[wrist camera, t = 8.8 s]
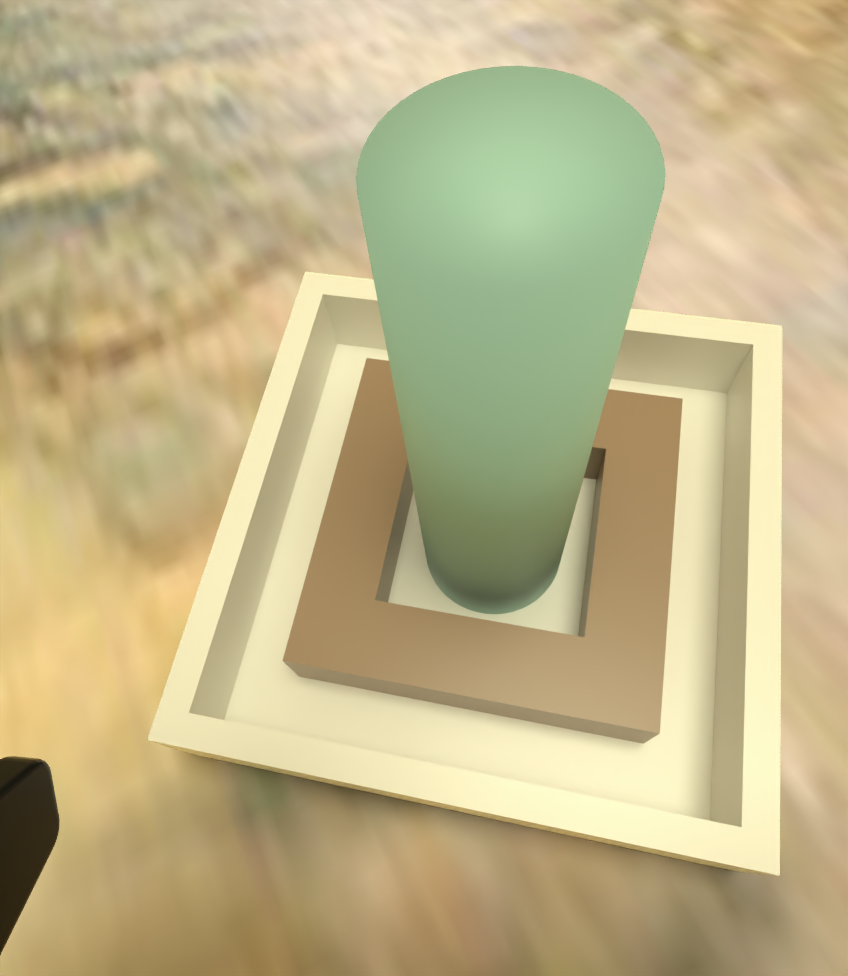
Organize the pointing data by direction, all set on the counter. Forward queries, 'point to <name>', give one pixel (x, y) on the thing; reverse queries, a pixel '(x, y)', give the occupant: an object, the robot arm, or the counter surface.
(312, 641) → the tray box
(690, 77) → the counter surface
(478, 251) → the pale green peg
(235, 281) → the counter surface
